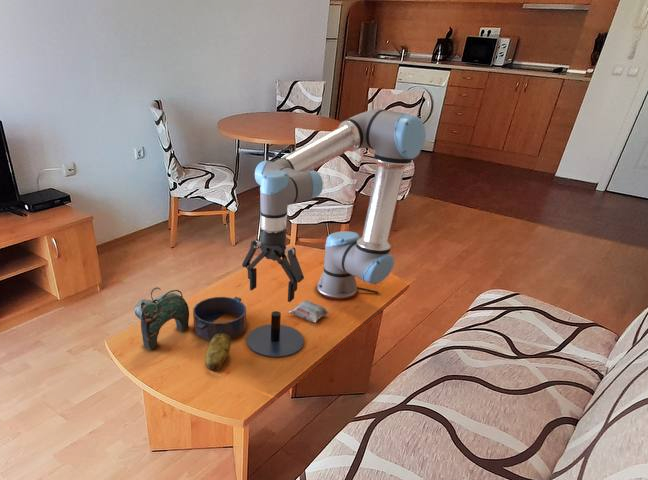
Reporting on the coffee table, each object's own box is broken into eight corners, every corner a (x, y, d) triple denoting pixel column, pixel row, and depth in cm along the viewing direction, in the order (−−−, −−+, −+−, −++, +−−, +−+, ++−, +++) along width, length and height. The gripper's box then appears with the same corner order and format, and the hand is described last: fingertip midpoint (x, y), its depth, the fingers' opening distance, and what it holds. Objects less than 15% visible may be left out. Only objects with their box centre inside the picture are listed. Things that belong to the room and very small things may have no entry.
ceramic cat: (148, 354, 162) (140, 300, 150) (136, 346, 166) (127, 293, 154) (193, 329, 174) (189, 277, 162) (181, 322, 177) (176, 271, 166)
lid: (313, 337, 169) (316, 309, 162) (285, 366, 156) (287, 336, 149) (265, 321, 177) (266, 293, 171) (235, 347, 165) (234, 318, 158)
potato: (195, 367, 156) (193, 346, 151) (218, 347, 165) (218, 327, 160) (216, 376, 152) (215, 354, 148) (239, 355, 161) (239, 334, 156)
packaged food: (315, 328, 174) (316, 315, 171) (287, 316, 180) (288, 304, 177) (328, 318, 179) (330, 306, 176) (301, 307, 185) (302, 295, 182)
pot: (259, 319, 179) (260, 302, 175) (222, 351, 163) (221, 333, 159) (218, 305, 187) (218, 289, 183) (179, 334, 171) (177, 317, 167)
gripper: (318, 233, 139) (313, 299, 152) (244, 216, 151) (244, 279, 163) (306, 242, 134) (301, 310, 147) (229, 224, 146) (231, 288, 158)
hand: (271, 294), depth 155 cm, fingers open, 13 cm apart
